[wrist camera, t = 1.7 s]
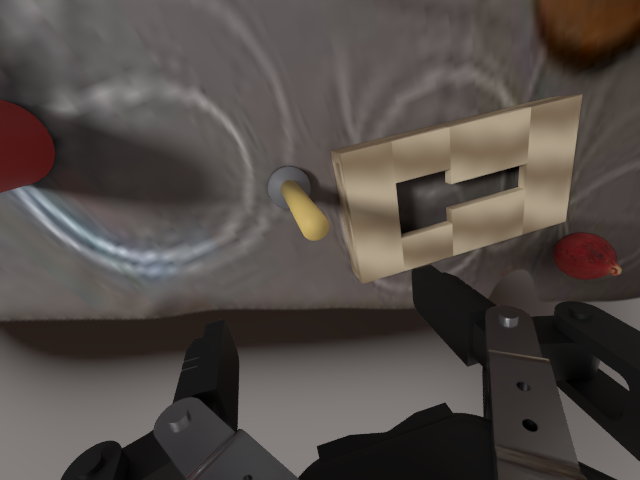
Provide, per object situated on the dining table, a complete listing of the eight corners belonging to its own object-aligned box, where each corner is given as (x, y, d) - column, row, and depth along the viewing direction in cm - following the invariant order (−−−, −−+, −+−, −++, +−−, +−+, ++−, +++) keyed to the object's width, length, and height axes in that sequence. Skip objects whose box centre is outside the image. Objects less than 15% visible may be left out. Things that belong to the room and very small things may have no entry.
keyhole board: (330, 150, 31) (340, 153, 28) (551, 97, 34) (582, 94, 31) (352, 270, 36) (362, 283, 33) (540, 213, 40) (565, 221, 37)
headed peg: (262, 171, 30) (274, 204, 18) (303, 161, 31) (341, 186, 19) (273, 211, 32) (291, 265, 20) (312, 201, 32) (352, 247, 20)
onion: (532, 243, 41) (593, 270, 34) (567, 216, 41) (636, 237, 34) (544, 271, 44) (604, 301, 37) (578, 246, 43) (645, 271, 36)
